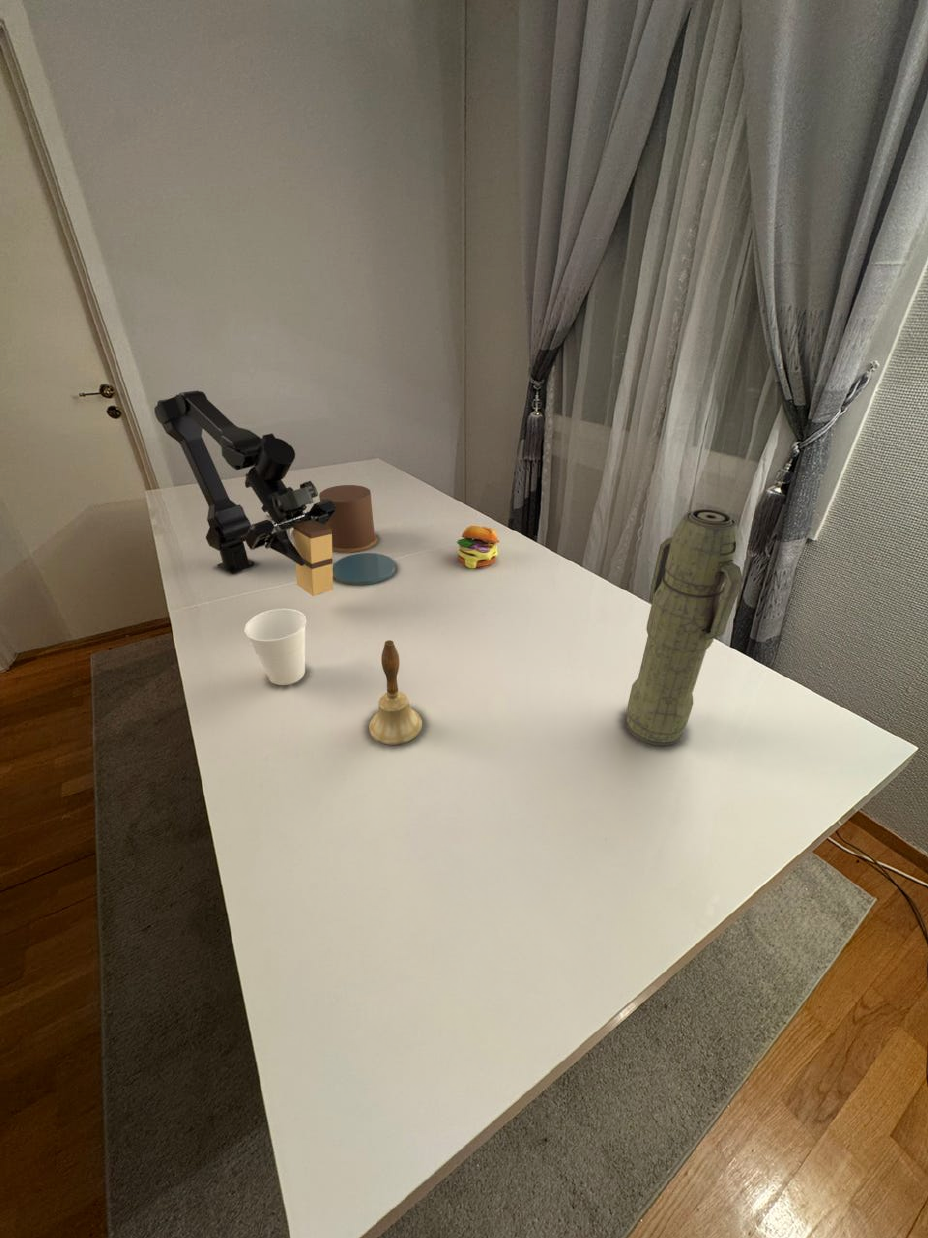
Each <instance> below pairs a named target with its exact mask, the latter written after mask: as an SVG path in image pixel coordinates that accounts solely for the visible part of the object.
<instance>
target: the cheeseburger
mask: <svg viewBox="0 0 928 1238" xmlns="http://www.w3.org/2000/svg"><path fill="white" fill-rule="evenodd" d="M461 537H462V538H460V539H457V541H456V544H457V545H458V559H459V561H460V562H461V563H462V564H463V565H465V567H467V568H468V569H476V568H478V567H485V566H489V565H491V564H494V563H495V561H496V558H497V557H498V554H499V552H498V545H497V544H498V543H500V540H499V539H498V535H497V533H496V531H495V530H494V528H492V527H487V526H480V525H469V526H468V527H466V528H465V529H464V530H463V532H462V534H461Z"/></svg>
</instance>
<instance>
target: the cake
mask: <svg viewBox="0 0 928 1238" xmlns="http://www.w3.org/2000/svg"><path fill="white" fill-rule="evenodd" d="M318 497H319V502H321V501H324V500H327V499H328V500H331V501H332V502H333V503H334V504H335V506H336V507H337V510H336V511H335V513H334V514H333V516H332V517H331V518H330V520H329V521H328V522H326V523H325V526H327V527H329V528H331V529H332V552H338V553H356V552H361V551H364V550H368V549H370V548H371V547H374V546H375V545H376V544H377V542H378V535H377V534H376V533H375V525H374V513H373V512H374V511H373V503H372V501H373V500H372V493H371V489H370V488H368V487H366V486H363V485H356V484H341V485H335V486H331V487H327V488H325V489H323V490H321V491H320V492H319V493H318Z"/></svg>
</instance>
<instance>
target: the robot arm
mask: <svg viewBox="0 0 928 1238" xmlns="http://www.w3.org/2000/svg"><path fill="white" fill-rule="evenodd" d="M153 410H154V411H153V412H154V415H155V418H156V419H157V421H158V423H160V424H161V426H162V428H163V430H164V432H165V434H167V435H168V436H169V437H171V438H172V439H173V440H175V441H176V442H177V443H178V444H179V445H180V447H181V450H182V452H183V454H184V456H185V459H186V460H187V462H188V464H189V467H190V469H191V471H192V473H193V476H194V478H195V480H196V482H197V484H198V486H199V488H200V491H201V493H202V495H203V497H204V499H205V502H206V504H207V506H208V510H207V517H206V521H207V525H208V527H209V528H208V530H207V533H206V536H205V540H206V542H207V544H208V546H209V547H210V548H212V549H214V550H217V552H218V551H219V554H220V558H221V562H220V563H217V564H216V566H217V568H219V569H222V570H223V571H225V572H227V573H230V574H236V573H238V572H241V571H242V570H245V569H247V568H250V567H252V566H254V565H255V561H253V560H251V559H249V558H248V554H247V553H248V552H247V550H246V546H245V543H246V545H247V546H248V548H249V549H250V550H251V551H254V550H257V549H259V548H262V547H264V548H265V550H267V549H271V550H273V551H275V552H277V553H279V554H280V555H283V556H284V557H286V558H287V559H289V560H291V561H293V562H295V564H296V563H297V564H299V565H301V566H303V565H304V561H303V559H302V557H301V556H300V554H299V553H298V551H297V550H296V548H295V547H294V544H293V543H292V541H291V540H290V538H289V537H290V536H289V534H288V530H290V529H291V528H293V524H296V523H300V522H305V521H310V520H316V521H318V522H320V523H321V524H323V525H325V523H326V522H328V521H329V520H330V518H331V517H332V516H333V514H334V513H335V511H336V510H337V507H336V506H335V504H334V503H333V502H332V501H331V500H328V499H327V500H324V501H321V502H320V501H318V502H315V501H314V499H315V498H316V497H319V492H318V489H317V487H316V486H315V484H314V483H313V482H312V481H311V480H308V481H305V482H303V483H300V484H299V488H298V489H293V488H292V487H291V486H289V487H287V485H286V484H285V483H284V481H283V479H284V478H285V477H286V476H287V474H288V472H289V470H290V469H291V466H292V464H293V463H294V461H295V459H296V451H295V449H294V447H293V446H292V445H291V444H289V443H288V442H287V441H285V440H283V439H281V438H277V437H276V436H275V435H274V434H273V433H266V434H263V435H262V437H260V436H259V435H257V434H256V433H254V431H251V430H250V429H247V428H242V427H239V426H237V425H236V424H234V422H232V420H230V419H229V418H228V417H227V416H226V415H225V414H224V413H223V412H221V411H220V409H218V408H217V406H215V405H214V404H213V403H212V402H211V401H210V400H209V399H208V398H207V396H206V394H205V392H203V391H202V390H190V391H182V392H179V394H178V393H177V394H176V395H174V396H172V397H170V398H166V399H165V398H164V399H159V400H157V402H156V405H155V407H154V409H153ZM203 430H204V432H206V434H208V435H209V436H210V437H211V438H212V439H213V440H214V441H215V442H216V443H217V444H218V445H219V446H220V449H221V456H222V457H223V459H224V460H225V461H226V463H227V464H228V465H229V466H230V467H231V468H232V469H233V470H235V471H241V470H244V469H245V470H246V469H249V468H250V469H249V470H248V472H247V473H245V481H244V486H245V488H246V489H248V488H251V489H252V491H253V492H254V493H255V496H257V498H258V499H259V501H260V502H261V504H262V506H261V511H262V512H263V513H267V514H268V516H269V515H270V516H269V517H270V518H271V520H270V519H265V520H261V521H259V522H256V523H252V524H251V521H250V519H249V517H247V515H246V512H245V510H244V507H243V506H242V505H241V504H237V503H235V502H234V501H232V500H231V499H230V496H229V495H228V493H227V490H226V488H225V485H224V483H223V481H222V478H221V477H220V475H219V472H218V470H217V468H216V465H215V463H214V460H213V459H212V457H211V455H210V452H209V449H208V447H207V445H206V443H205V441H204V438H203V437H202V435H203ZM309 504H313V505H312V506H311V508H310V509H309V511H306V509H307V508H308V506H307V505H309ZM304 510H305V511H306V512H307V513H304V514H303V511H304ZM296 521H297V522H296ZM273 522H274V523H273ZM244 542H245V543H244Z"/></svg>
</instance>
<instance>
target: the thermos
mask: <svg viewBox="0 0 928 1238" xmlns="http://www.w3.org/2000/svg"><path fill="white" fill-rule="evenodd" d="M738 547H739V529H738V521H737V519H736V518H735V517H732V516H731V515H730V514H728V513H726V512H723V511H721V510H716V509H710V508H699V509H694V510H691V511H688V512H686V513H685V514H684V515H683V517H682V518H681V519H680V521H679V523H678V524H677V526H676V528H675V529H674V531H673V533H672V536H670V537H667V538H666V539H665V540H664V541H663V542H662V543H660V545H659V549H658V553H657V558H656V562H655V567H654V572H653V577H652V579H651V580H652V581H651V585H650V591H649V598H648V599H649V600H648V601H649V602H650V603H651V606H650V610H649V614H648V618H647V622H646V628H645V630H646V633H647V638H646V642H645V646H644V650H643V654H642V659H641V662H640V666H639V671H638V672H639V673H638V675H637V678H636V680H635V681H634V682H633V684H632V685H631V689H630V692H629V693H630V694H629V696H628V697H629V698H628V701H627V708H626V711H627V712H626V715H625V721H624V722H625V725H626V729H627V730H628V731H629V732H630V734H631V735H632V736H634V737H635V738H636V739H638V740H639V741H641V742H643V743H646V744H648V745H653V746H656V747H668V746H672V745H674V744H676V743H678V742H679V741H680V740H681V738H682V737H683V734H684V730H685V728H686V727H687V724H688V723H689V720H690V716H691V713H692V710H693V707H694V694H693V693H694V690H695V686H696V683H697V680H698V677H699V675H700V671H701V669H702V665H703V662H704V659H705V655H706V653H707V650H708V649H710V647H711V646H712V644H713V642H714V640H715V639H716V638H719V637H721V636H723V635H725V632H726V628H727V625H728V621H729V618H730V617H731V614H732V610H733V607H734V605H735V603H736V600H737V597H738V596H739V595H738V594H739V592H740V589H741V587H742V584H743V581H744V579H743V576H742V570H741V567H740V566H738V565H737V564H735V563H734V560H735V556H736V553H737V551H738Z"/></svg>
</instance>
